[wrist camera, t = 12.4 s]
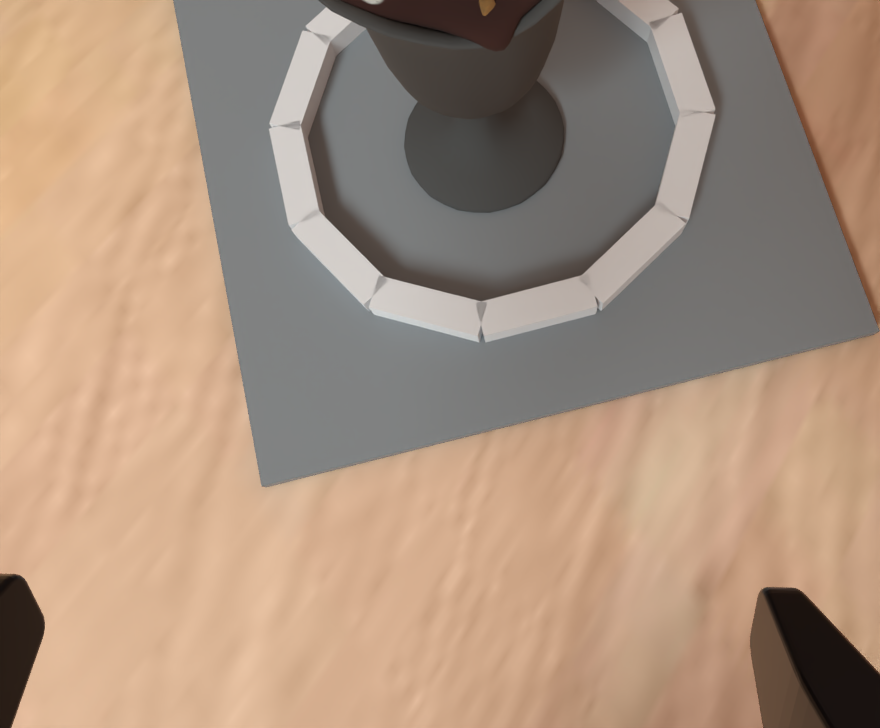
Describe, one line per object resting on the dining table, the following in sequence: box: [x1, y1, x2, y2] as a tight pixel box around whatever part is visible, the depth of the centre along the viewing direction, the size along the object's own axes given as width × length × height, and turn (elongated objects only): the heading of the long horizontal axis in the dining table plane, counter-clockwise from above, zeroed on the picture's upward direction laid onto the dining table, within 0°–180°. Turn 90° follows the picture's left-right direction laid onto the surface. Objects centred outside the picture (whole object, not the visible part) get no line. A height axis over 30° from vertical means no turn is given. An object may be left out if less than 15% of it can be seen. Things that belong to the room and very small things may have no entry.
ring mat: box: [173, 0, 879, 487], centre depth 25 cm, size 18×18×1 cm
